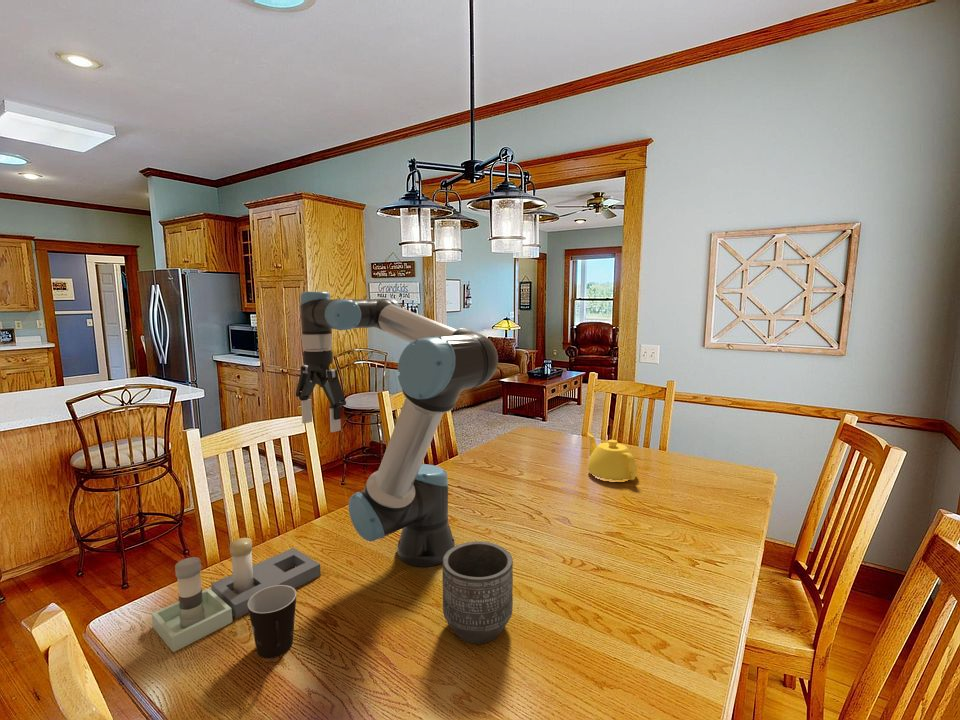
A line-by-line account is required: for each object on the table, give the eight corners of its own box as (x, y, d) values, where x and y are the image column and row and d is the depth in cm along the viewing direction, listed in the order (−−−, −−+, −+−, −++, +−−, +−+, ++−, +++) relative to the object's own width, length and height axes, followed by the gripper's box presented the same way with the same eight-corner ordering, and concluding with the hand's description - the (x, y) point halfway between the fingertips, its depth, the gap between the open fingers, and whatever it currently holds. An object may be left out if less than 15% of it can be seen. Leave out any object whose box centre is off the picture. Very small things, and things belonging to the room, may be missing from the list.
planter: (457, 661, 89) (457, 587, 87) (433, 615, 101) (432, 549, 100) (524, 639, 94) (525, 569, 92) (494, 598, 107) (494, 535, 105)
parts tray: (232, 622, 99) (231, 608, 99) (173, 652, 91) (171, 637, 90) (210, 600, 106) (209, 587, 106) (152, 627, 98) (151, 613, 97)
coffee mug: (260, 631, 96) (257, 586, 95) (304, 629, 97) (302, 583, 96) (236, 677, 85) (232, 625, 83) (286, 674, 86) (283, 623, 84)
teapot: (569, 468, 188) (570, 434, 186) (603, 460, 197) (604, 428, 195) (616, 490, 166) (617, 453, 165) (651, 481, 175) (653, 445, 173)
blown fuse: (208, 620, 99) (204, 562, 97) (185, 632, 95) (180, 572, 93) (199, 612, 101) (195, 554, 100) (176, 623, 98) (171, 564, 96)
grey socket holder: (320, 575, 116) (318, 524, 114) (236, 618, 100) (232, 560, 99) (294, 558, 123) (291, 510, 121) (211, 596, 108) (207, 542, 106)
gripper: (358, 351, 123) (360, 431, 126) (304, 345, 138) (308, 416, 141) (332, 354, 117) (336, 438, 120) (280, 347, 133) (284, 421, 135)
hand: (321, 426), depth 131 cm, fingers open, 13 cm apart
